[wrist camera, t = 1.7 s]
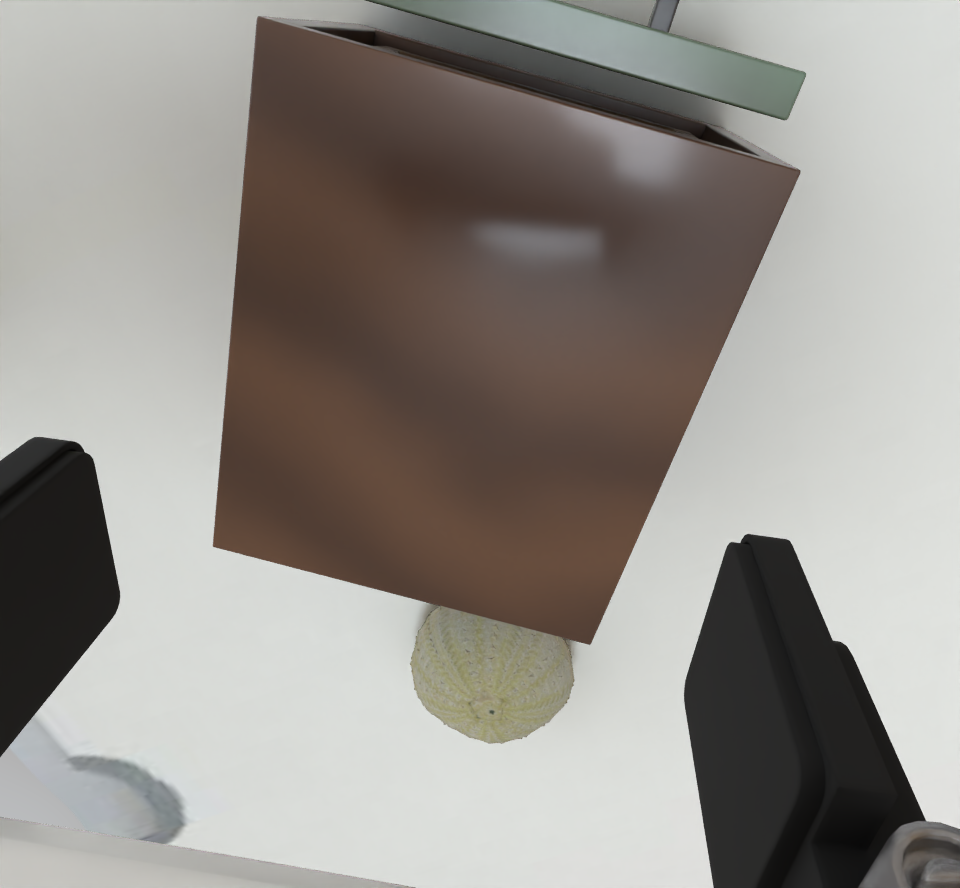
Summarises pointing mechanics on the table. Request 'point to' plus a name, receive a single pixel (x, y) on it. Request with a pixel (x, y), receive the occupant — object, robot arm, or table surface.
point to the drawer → (619, 50)
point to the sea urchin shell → (489, 675)
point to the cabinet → (470, 321)
